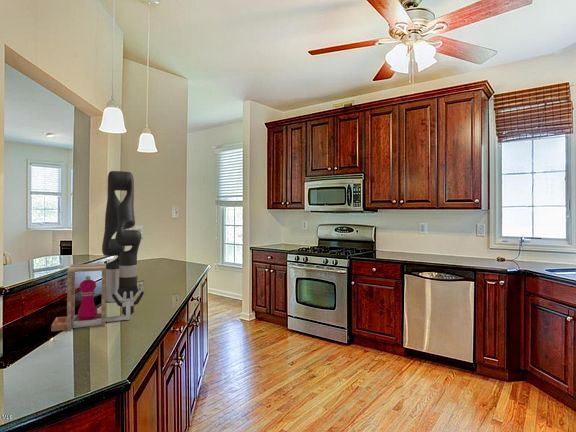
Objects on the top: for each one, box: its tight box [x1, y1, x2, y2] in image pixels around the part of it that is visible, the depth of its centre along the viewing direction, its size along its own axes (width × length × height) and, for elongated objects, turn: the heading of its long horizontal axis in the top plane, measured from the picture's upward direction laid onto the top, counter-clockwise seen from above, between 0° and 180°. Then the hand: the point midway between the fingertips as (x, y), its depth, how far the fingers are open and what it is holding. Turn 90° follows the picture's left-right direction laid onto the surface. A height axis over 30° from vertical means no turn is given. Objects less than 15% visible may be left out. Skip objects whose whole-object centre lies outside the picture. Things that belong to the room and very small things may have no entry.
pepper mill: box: [77, 275, 98, 321], centre depth 150 cm, size 7×7×20 cm
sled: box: [71, 298, 131, 329], centre depth 153 cm, size 11×22×8 cm, turn 116°
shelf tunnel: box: [66, 262, 107, 332], centre depth 150 cm, size 15×13×24 cm
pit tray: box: [50, 316, 67, 332], centre depth 146 cm, size 12×5×2 cm, turn 26°
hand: (127, 314), depth 157 cm, fingers closed on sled, 2 cm apart
